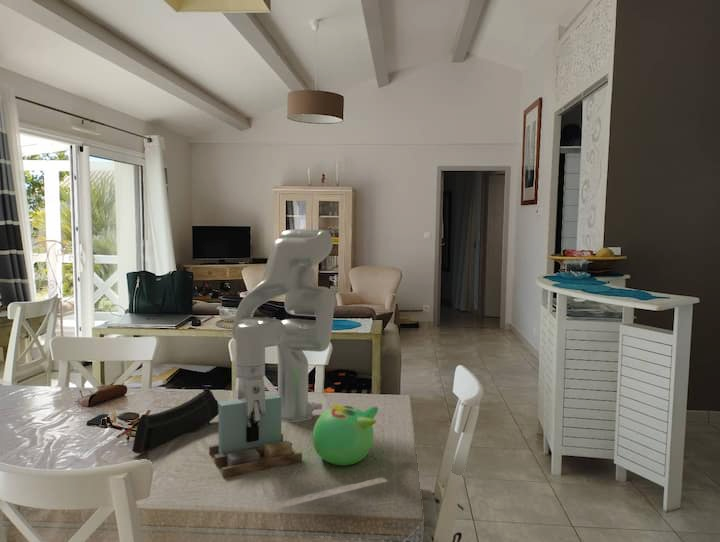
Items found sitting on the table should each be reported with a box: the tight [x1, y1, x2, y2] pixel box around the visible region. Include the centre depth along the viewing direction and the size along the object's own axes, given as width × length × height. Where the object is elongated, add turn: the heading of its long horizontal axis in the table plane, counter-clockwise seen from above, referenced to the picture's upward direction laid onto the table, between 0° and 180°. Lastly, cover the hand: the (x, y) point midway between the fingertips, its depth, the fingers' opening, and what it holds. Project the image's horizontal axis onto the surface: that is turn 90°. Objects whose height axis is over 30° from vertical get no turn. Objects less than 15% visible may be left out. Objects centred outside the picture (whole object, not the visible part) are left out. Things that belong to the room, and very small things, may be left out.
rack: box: [208, 432, 303, 480], centre depth 136 cm, size 20×16×3 cm
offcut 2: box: [264, 440, 293, 459], centre depth 135 cm, size 6×4×4 cm, turn 118°
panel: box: [217, 393, 282, 454], centre depth 139 cm, size 16×3×14 cm, turn 118°
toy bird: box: [312, 403, 379, 467], centre depth 136 cm, size 18×17×15 cm
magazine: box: [131, 388, 218, 455], centre depth 150 cm, size 17×3×30 cm
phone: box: [86, 413, 109, 427], centre depth 161 cm, size 8×1×15 cm
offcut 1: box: [227, 449, 260, 467], centre depth 131 cm, size 7×4×3 cm, turn 118°
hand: (250, 437), depth 139 cm, fingers closed on panel, 3 cm apart
